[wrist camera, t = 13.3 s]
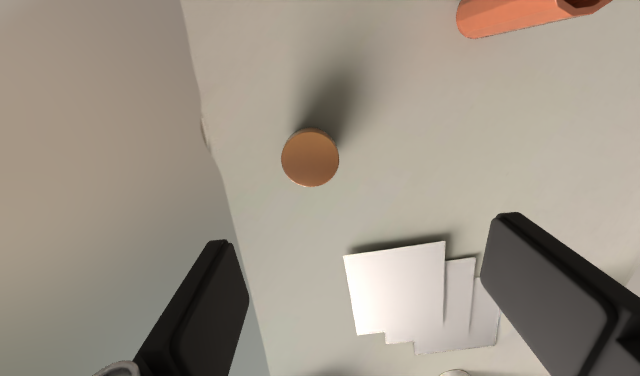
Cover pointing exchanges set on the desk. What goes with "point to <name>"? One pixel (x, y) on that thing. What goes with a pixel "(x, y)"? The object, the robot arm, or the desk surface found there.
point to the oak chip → (310, 157)
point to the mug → (455, 373)
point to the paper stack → (421, 299)
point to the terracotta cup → (517, 14)
